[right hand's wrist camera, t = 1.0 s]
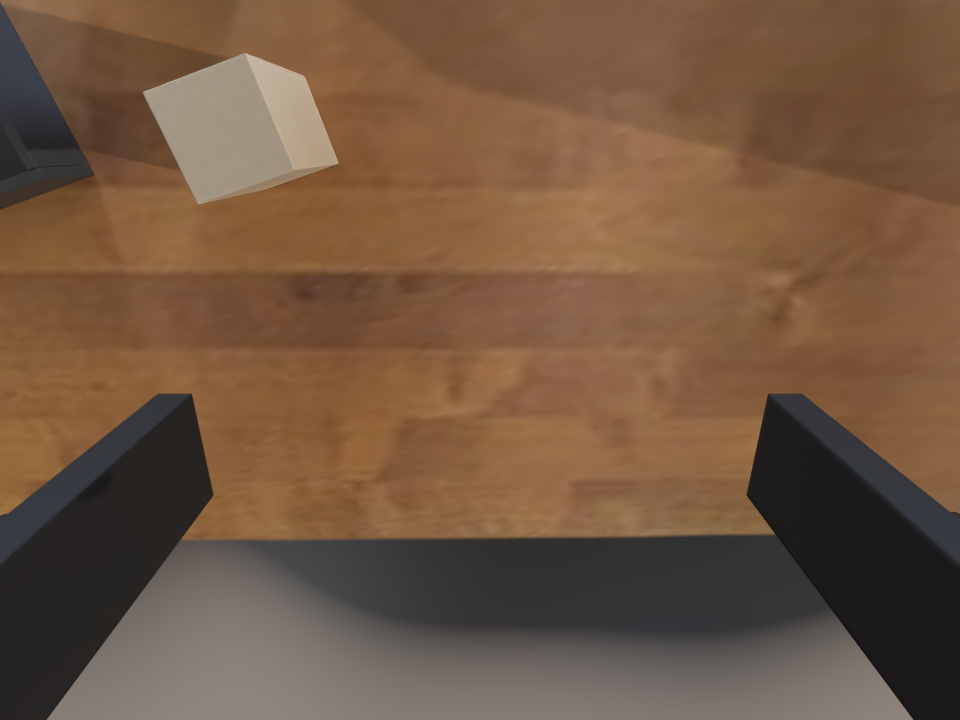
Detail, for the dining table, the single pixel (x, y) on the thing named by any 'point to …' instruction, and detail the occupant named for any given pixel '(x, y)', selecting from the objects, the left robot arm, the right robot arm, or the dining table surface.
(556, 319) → the dining table surface
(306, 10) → the dining table surface
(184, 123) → the cream block
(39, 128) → the handled tray
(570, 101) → the dining table surface
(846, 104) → the dining table surface
